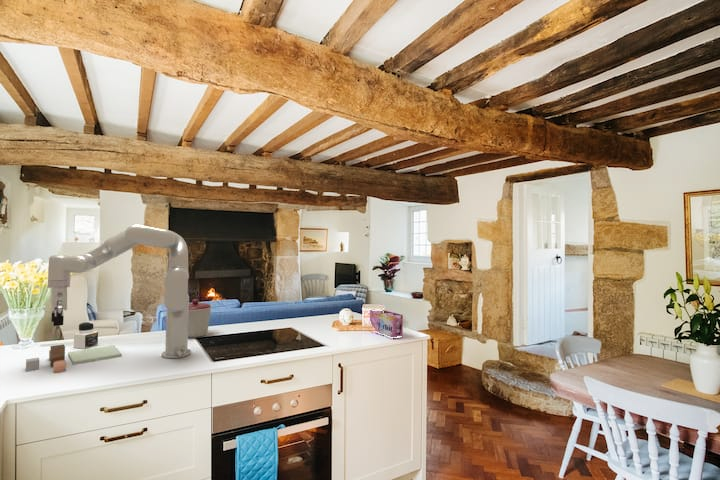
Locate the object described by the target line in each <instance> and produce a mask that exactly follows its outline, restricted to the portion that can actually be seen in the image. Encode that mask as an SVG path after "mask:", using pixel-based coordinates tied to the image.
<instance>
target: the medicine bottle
mask: <svg viewBox="0 0 720 480" xmlns="http://www.w3.org/2000/svg"><path fill="white" fill-rule="evenodd" d="M94 326H95V323H94V322H91V321H87V322H85V321H84V322H81V323H79V325H78V332H76V333H74V334H73V348H74V349H81V350H87V349H91V348H93V347H96V346H98V345H99V344H98V343H99V340H98V339H99V331H96V330H95V331H94V328H95V327H94Z"/></svg>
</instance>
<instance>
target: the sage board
mask: <svg viewBox="0 0 720 480" xmlns="http://www.w3.org/2000/svg"><path fill="white" fill-rule="evenodd" d="M67 353H68V354H67V355H68V357H69V360H70V361H71V364H72V365H79V364H85V363H90V362H96V361H104V360H108V359H113V358H120V357H121V358H122V357H123V355H122V352H121V351H120V350H119V349H118V348H117V347H116V345H107V346H101V347H94V348H93V347H92V348H87V349H81V350H80V349H79V350H74V351H68V352H67Z"/></svg>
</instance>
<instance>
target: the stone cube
mask: <svg viewBox="0 0 720 480" xmlns="http://www.w3.org/2000/svg"><path fill="white" fill-rule="evenodd" d="M36 370H37V371H38V370H40V357H34V358H28V359H25V371H26V372H31V371H36Z"/></svg>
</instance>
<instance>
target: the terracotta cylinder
mask: <svg viewBox="0 0 720 480" xmlns="http://www.w3.org/2000/svg"><path fill="white" fill-rule="evenodd" d="M52 368H53V369H52V370H53V371H52V373H55V374H58V373H59V374H60V373H63V372H66V370H67V360H66V359H65V360H59V361H55V362H54V365H53V367H52Z"/></svg>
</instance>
